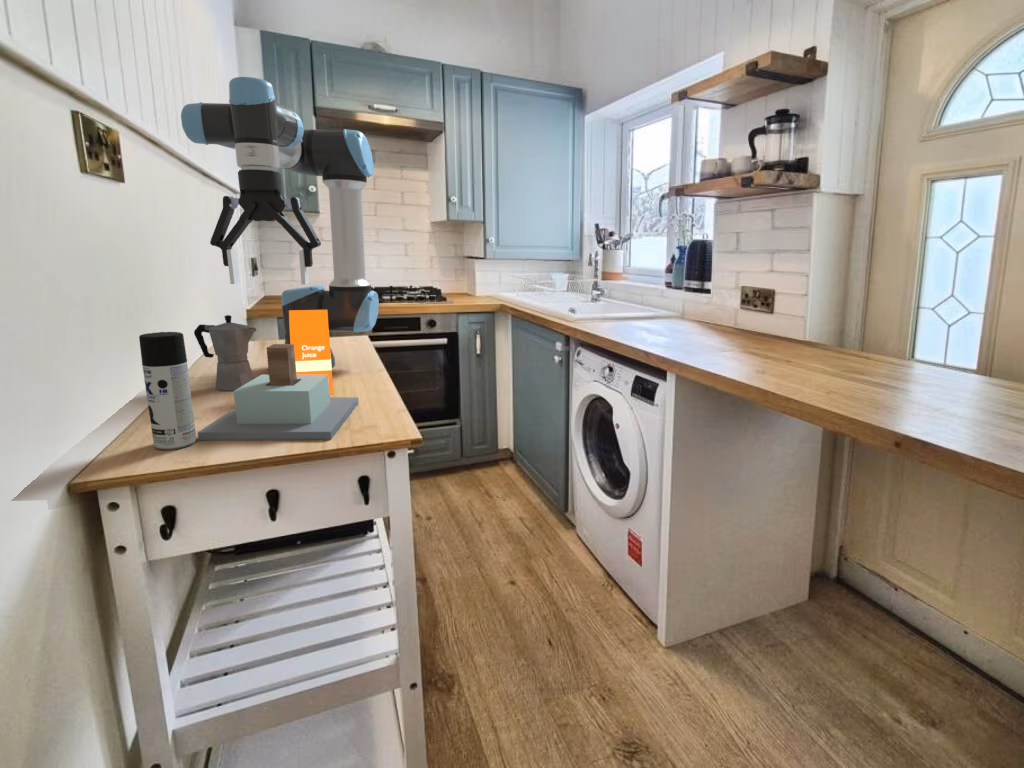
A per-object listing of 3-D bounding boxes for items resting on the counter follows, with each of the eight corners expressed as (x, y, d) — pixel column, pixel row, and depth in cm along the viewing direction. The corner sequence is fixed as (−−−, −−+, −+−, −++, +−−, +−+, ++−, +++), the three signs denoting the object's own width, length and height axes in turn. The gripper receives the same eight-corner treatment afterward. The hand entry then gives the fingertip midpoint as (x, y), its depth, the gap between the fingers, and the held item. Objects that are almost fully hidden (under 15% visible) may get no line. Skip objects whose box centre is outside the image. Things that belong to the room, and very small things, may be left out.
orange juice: (296, 388, 140) (289, 308, 135) (333, 386, 143) (327, 307, 138) (294, 396, 133) (287, 312, 128) (333, 394, 135) (328, 311, 130)
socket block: (250, 403, 126) (247, 369, 124) (358, 403, 128) (356, 369, 126) (198, 440, 103) (193, 398, 101) (331, 439, 104) (328, 398, 102)
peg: (279, 410, 117) (273, 344, 113) (299, 410, 117) (294, 344, 114) (272, 416, 113) (266, 347, 110) (293, 415, 113) (287, 347, 110)
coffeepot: (270, 382, 146) (263, 313, 141) (252, 391, 136) (245, 318, 132) (211, 381, 146) (203, 312, 142) (190, 390, 137) (180, 317, 133)
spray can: (151, 442, 101) (134, 333, 96) (193, 435, 106) (179, 330, 101) (157, 453, 96) (140, 338, 92) (201, 445, 101) (187, 334, 96)
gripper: (180, 166, 101) (196, 284, 107) (321, 169, 103) (329, 285, 109) (200, 170, 109) (214, 281, 114) (331, 173, 110) (338, 282, 116)
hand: (270, 283), depth 112 cm, fingers open, 13 cm apart
